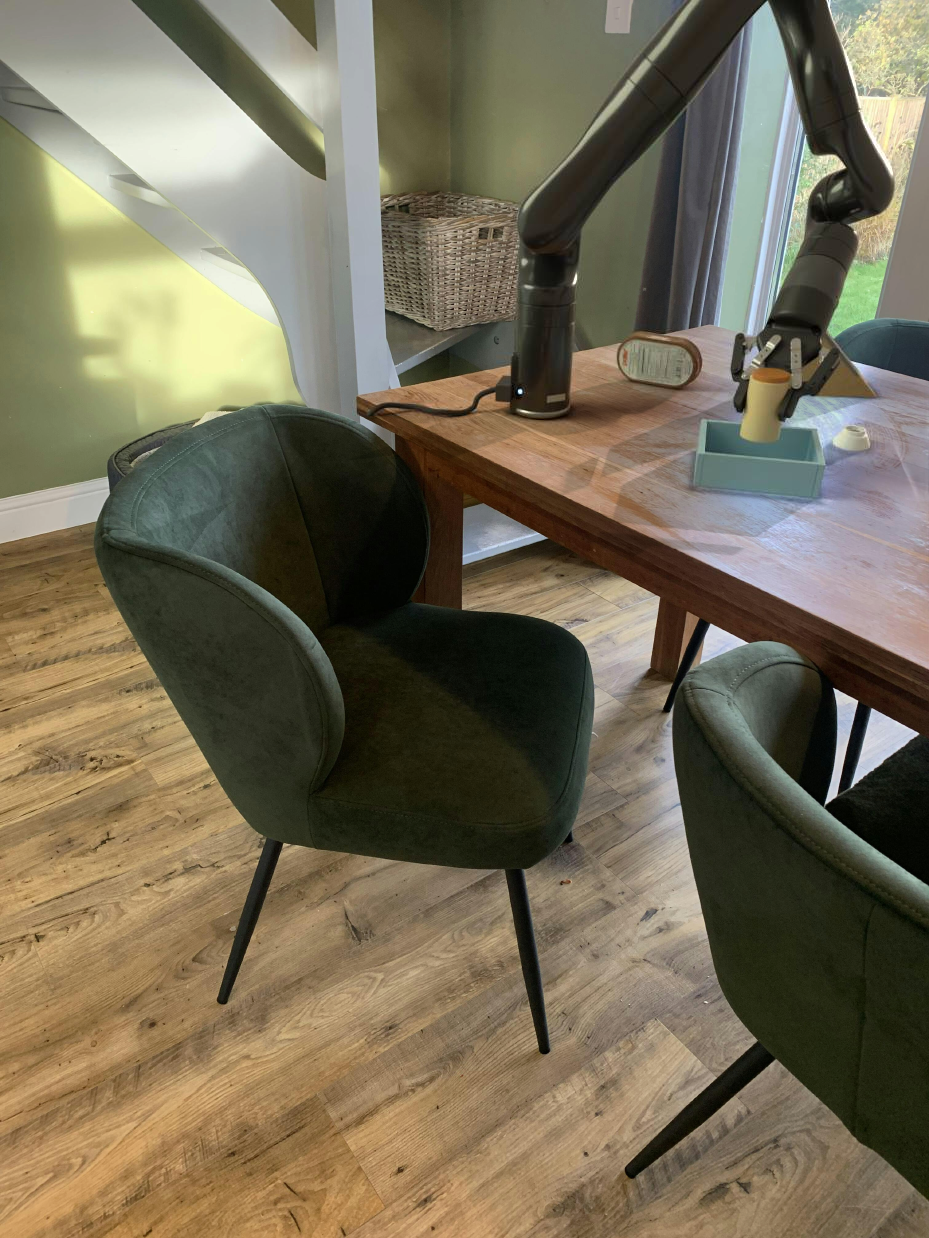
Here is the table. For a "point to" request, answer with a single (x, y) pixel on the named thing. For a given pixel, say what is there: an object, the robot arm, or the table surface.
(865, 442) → the cream truncated cone
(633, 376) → the tin
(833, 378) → the sandwich container
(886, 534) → the table surface
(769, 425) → the lidded cream canister
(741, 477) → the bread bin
